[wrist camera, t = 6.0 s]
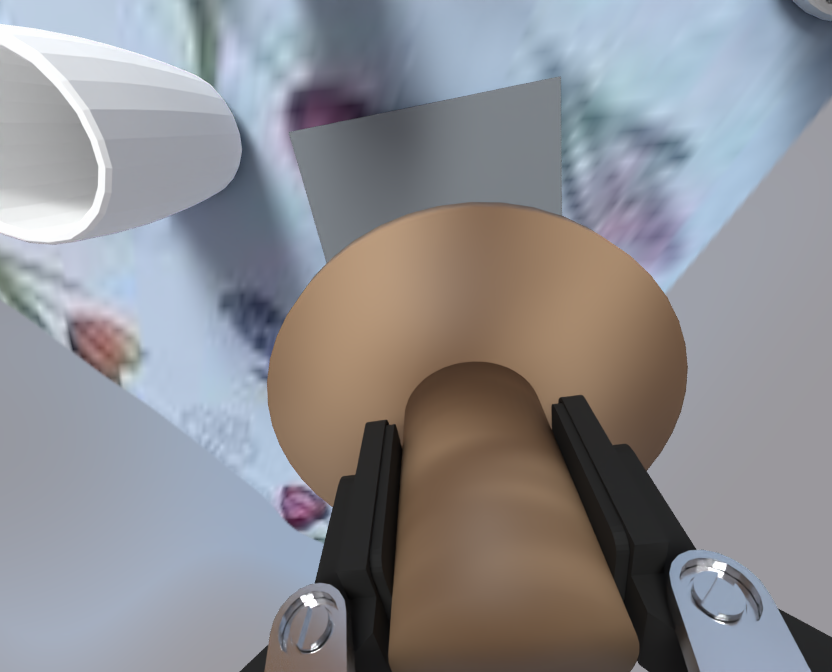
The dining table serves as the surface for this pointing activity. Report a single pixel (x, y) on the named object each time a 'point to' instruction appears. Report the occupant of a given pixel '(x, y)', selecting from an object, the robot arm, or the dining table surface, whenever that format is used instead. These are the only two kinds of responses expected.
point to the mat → (433, 159)
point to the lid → (483, 421)
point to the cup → (103, 138)
